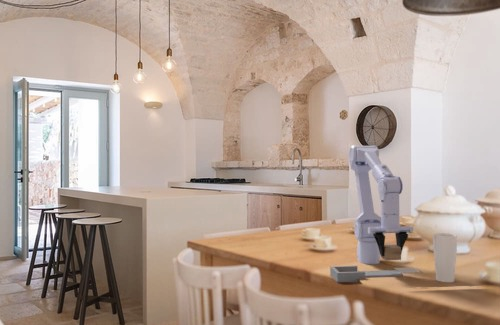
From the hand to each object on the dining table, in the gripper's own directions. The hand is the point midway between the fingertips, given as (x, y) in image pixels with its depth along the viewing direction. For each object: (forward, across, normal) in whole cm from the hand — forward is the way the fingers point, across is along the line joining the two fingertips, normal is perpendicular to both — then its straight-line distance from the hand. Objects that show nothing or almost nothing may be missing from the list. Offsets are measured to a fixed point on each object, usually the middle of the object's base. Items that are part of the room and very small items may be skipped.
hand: (390, 255), depth 155 cm
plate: (+7, +8, +4) cm, 11 cm away
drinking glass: (+7, +14, -9) cm, 18 cm away
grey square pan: (+7, -8, 0) cm, 11 cm away
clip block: (+1, 0, 0) cm, 1 cm away
